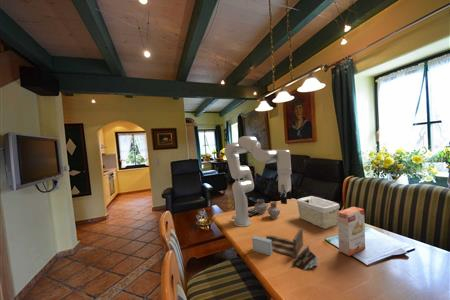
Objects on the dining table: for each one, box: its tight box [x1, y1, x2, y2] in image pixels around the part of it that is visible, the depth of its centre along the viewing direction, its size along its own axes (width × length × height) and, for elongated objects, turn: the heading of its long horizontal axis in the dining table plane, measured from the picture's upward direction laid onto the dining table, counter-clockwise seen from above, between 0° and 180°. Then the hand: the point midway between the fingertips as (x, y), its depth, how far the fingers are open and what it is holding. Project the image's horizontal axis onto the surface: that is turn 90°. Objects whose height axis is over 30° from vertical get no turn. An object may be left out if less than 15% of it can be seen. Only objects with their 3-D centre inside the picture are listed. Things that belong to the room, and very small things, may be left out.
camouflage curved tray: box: [291, 245, 319, 271], centre depth 90 cm, size 10×7×12 cm
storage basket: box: [296, 195, 341, 230], centre depth 135 cm, size 24×16×15 cm
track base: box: [265, 228, 304, 258], centre depth 107 cm, size 20×14×9 cm
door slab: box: [251, 235, 274, 256], centre depth 103 cm, size 10×3×7 cm, turn 55°
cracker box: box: [337, 206, 366, 257], centre depth 98 cm, size 14×6×21 cm, turn 117°
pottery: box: [253, 198, 281, 220], centre depth 154 cm, size 11×25×12 cm, turn 33°
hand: (286, 201), depth 109 cm, fingers open, 9 cm apart
